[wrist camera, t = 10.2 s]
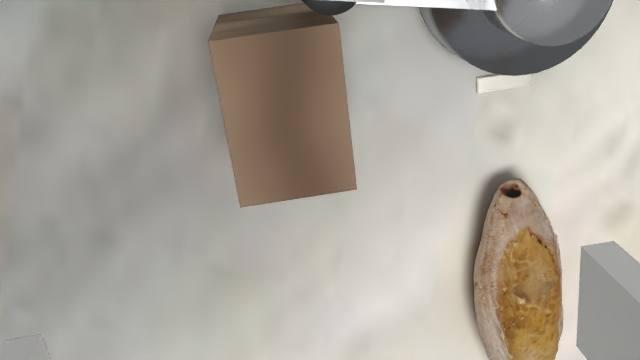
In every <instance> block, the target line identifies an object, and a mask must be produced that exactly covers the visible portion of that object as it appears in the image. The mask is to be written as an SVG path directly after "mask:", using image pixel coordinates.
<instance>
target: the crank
mask: <svg viewBox="0 0 640 360" xmlns="http://www.w3.org/2000/svg"><path fill="white" fill-rule="evenodd" d="M302 1H303V2H304V3H305V4H306V5H307V6H308V7H309V8H310V9H311V10H313V11H315V12H317V13H319V14H323V15H337V14H341V13H343V12H345V11H347V10H349V9H350V8H352V7H353V6H354V5H355V4H376V5H396V6H416V7H436V8H456V9H476V10H482V11H483V13H484V15H485V16H486V18H487V19H488V20H489V21H490V22H491V23H492V24H493V25H494V26H495V27H496V28H498V29H500V30H501V31H504V32H506V33H508V34H511V35H513V36H516V37H518V38H521V39H523V40H526V41H528V42H531V43H533V44H537V45H541V46H560V45H564V44H568V43H571V42H573V41H575V40H578V39H579V38H581V37H583V36H584V35H586V34H587V33H588V32H590V31H591V30H592V29H593V28H594V27H595V26H596V25H597V24H598V23H599V22H600V21H601V20H602V18H603V17H604V15H605V14H606V12H607V11H608V9H609V7H610V5H611V3H612V1H613V0H302Z"/></svg>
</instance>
